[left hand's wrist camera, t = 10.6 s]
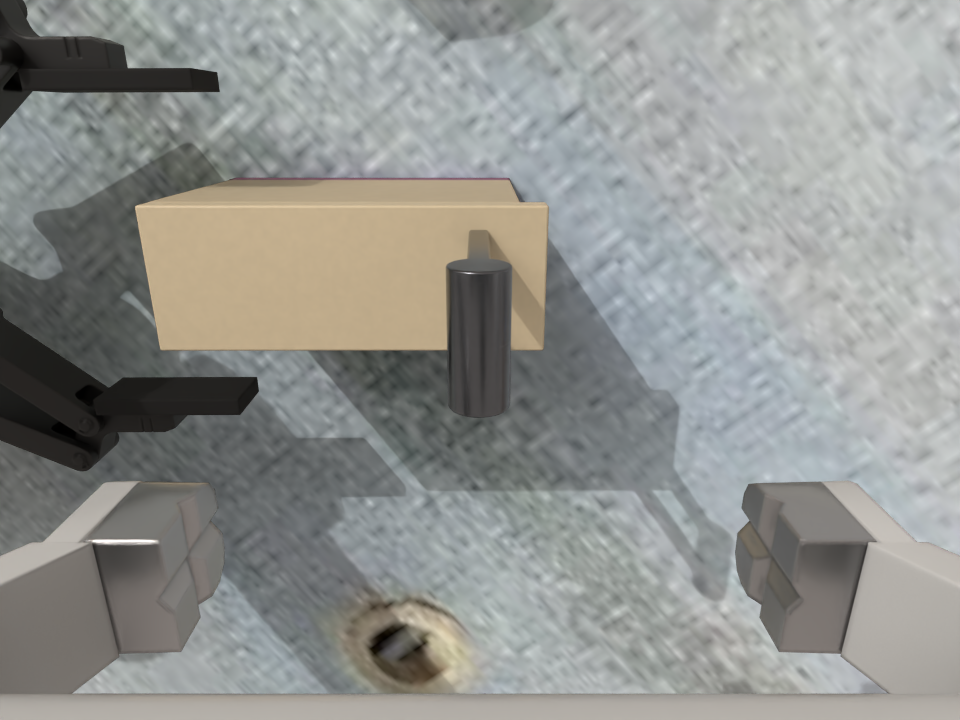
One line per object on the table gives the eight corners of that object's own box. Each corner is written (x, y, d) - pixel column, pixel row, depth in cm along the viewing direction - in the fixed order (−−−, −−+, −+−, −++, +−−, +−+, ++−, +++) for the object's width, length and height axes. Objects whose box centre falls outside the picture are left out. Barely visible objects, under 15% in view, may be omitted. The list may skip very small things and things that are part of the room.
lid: (546, 202, 24) (579, 244, 17) (541, 342, 26) (568, 441, 18) (147, 202, 24) (-13, 244, 16) (170, 342, 26) (38, 441, 18)
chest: (509, 178, 33) (520, 201, 25) (507, 284, 35) (517, 342, 26) (235, 177, 33) (147, 201, 24) (249, 284, 35) (171, 342, 26)
